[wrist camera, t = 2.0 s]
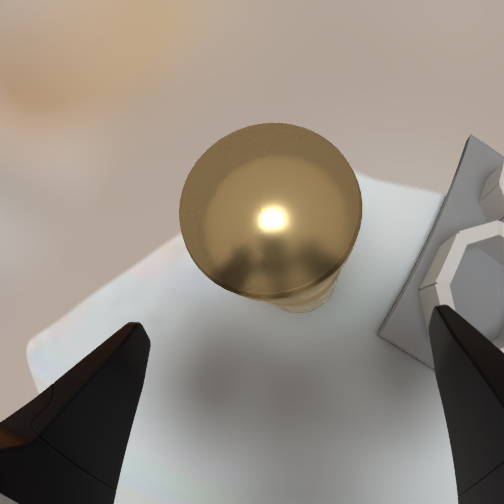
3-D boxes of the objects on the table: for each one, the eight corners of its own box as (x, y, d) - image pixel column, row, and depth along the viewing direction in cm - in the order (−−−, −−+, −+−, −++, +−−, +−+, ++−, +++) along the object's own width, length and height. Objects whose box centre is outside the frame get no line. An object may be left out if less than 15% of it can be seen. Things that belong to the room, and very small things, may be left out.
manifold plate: (478, 397, 15) (507, 409, 11) (377, 334, 18) (391, 336, 14) (548, 203, 16) (575, 184, 13) (466, 141, 19) (485, 111, 15)
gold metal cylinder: (310, 329, 19) (295, 338, 7) (247, 288, 20) (143, 233, 8) (351, 263, 19) (394, 169, 7) (287, 225, 20) (241, 99, 9)
